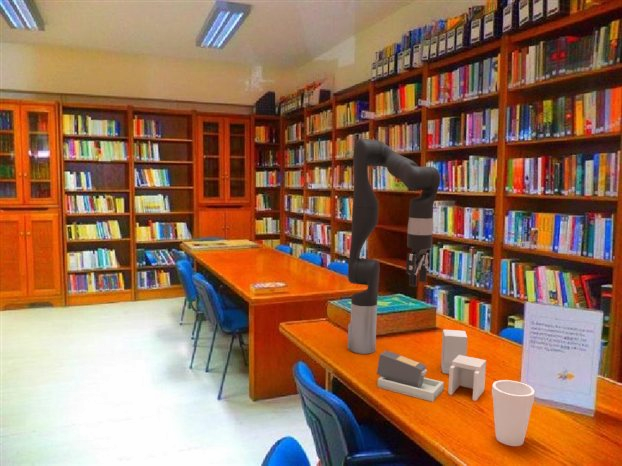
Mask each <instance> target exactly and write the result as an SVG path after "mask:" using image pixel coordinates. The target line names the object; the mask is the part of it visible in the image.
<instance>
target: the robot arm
mask: <svg viewBox="0 0 622 466" xmlns="http://www.w3.org/2000/svg"><path fill="white" fill-rule="evenodd" d="M352 156H353V157H352V158H353V161H352V164H353V195H352V196H353V198H352V210H351V211H352V212H351V237H350V238H351V239H350V248H349V249H350V250H349V257H348V264H347V277H348V278H347V279H348V281H349V283H350V284H354V285H364V286H367V289H365V290H363V291H359V292H356V293H352V295H351V301H350V302H351V303H350V322H349V323H348V324H347V350H350V351H351V352H353V353H355V354H361V355H367V354H372V353H373V354H374V353H375V352H376V346H377V345H376V343H377V321H378V320H377V318H378V317H377V316H378V315H377V314H378V296H379V295H378V294H379V293H378V292H379V283H380V272H381V271H380V270H381V269H380V267H381V266H380V263H379V261H378V260H377V259H372V258H361V253H362V249H363V246H364V245H365V243H366V241H367V239H368V238H369V236H370V235H371V234H372V233H373V231H374V230H375V228H376V227H377V225H378V222H379V209H380V208H379V200H378V198H377V196H376V193H375V191H374V189H373V188H372V185H371V183H370V180H369V175H368V173H369V172H368V171H369V170H368V167H382V168H386V170H387V172H389V174H390V175H392V177H394V178H397V179H398V180H400V181H401V182H402V184H403V185H404V186H405V187H406V188H407V189H410V190H413V191H421V193H420V195H419V196H418V197H414V198H412V199H410V201H409V214H408V223H407V236H406V237H407V238H406V240H407V242H406V246H407V248H409V249H411V253H407V254H406V266H405V267H406V269H405V273H406V274H408V275H409V277H408V278H409V279H408V286H409V287H411V288H416V287H418V283H417V282H418V281H419V282H420V283H426V282H427V277H428V276H427V274H428V270H429V268H431V249H432V247H433V233H434V222H433V217H434V216H433V215H434V214H433V213H434V203H435V200H436V197H437V194H438V192H439V188H440V185H441V174H440V172H439V170H438V169H437V168H436V167H434V166H419V165H418V164H417V163H416V162H415V161H414V160H412V159H410V158H408V157H405V156H403V155H401V154H399V153H397V152H395V150H393V149H392V148H391V147H389V146H388V144H386V143H385V142H384V141H382V140H377V139H369V138H359V139H357V140H356V142H355V143H354V146H353V155H352ZM418 274H419V275H418Z"/></svg>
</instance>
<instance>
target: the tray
mask: <svg viewBox="0 0 622 466" xmlns="http://www.w3.org/2000/svg"><path fill="white" fill-rule="evenodd" d="M444 386H445V381H441V380H436V379H432V378H428V377H425V376H424V378H423V383H422V386H421V387H420V388H416V387H412V386H408V385H405V384H401V383H397V382H395V381H392V380H390V379H387V378H385V377H382V376H380V377H379V378H377V388H379V389H383V390H387V391H391V392H395V393H398V394H401V395H402V394H403V395H405V396H410V397H413V398H417V399H421V400H425V401H427V402H432V403H433V402H434V401H435V400H436V399H437V398H438V397H439V396H440V395H441V394H442V392H443V391H444Z"/></svg>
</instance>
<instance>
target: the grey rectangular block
mask: <svg viewBox="0 0 622 466" xmlns="http://www.w3.org/2000/svg"><path fill="white" fill-rule="evenodd" d="M426 367H427V364H424V363H421V362H419V361H417V360H414V359H411V358H409V357H407V356H406V357H405V356H404V355H401V354H397V353H395V352H392V351H389V350H387V349H386V350H384V351H383V352H382V353H380V354H379V358H378V363H377V370H376V375H378V376H380V377H381V376H382V377H385V378H387V379H390V380H392V381H395V382H397V383H401V384H405V385H408V386H412V387H416V388H420V387H421V386H422V383H423V378H424V377H425V375H426V374H427V373H428V370H427V369H426Z"/></svg>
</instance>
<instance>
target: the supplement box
mask: <svg viewBox="0 0 622 466" xmlns="http://www.w3.org/2000/svg"><path fill="white" fill-rule="evenodd" d="M441 339H442V341H441V343H442V344H441V360H440V361H441V362H440V367H441V373H442V374H448V375H449V372H450V367H451V366H452V361H453V360H454V359H455V358H456V357H457V356H458V355H463V356H467V353H468V336H467V333H466V331H465V330H458V329H457V330H456V329H455V330H454V329H443V330H442V338H441Z"/></svg>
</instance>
